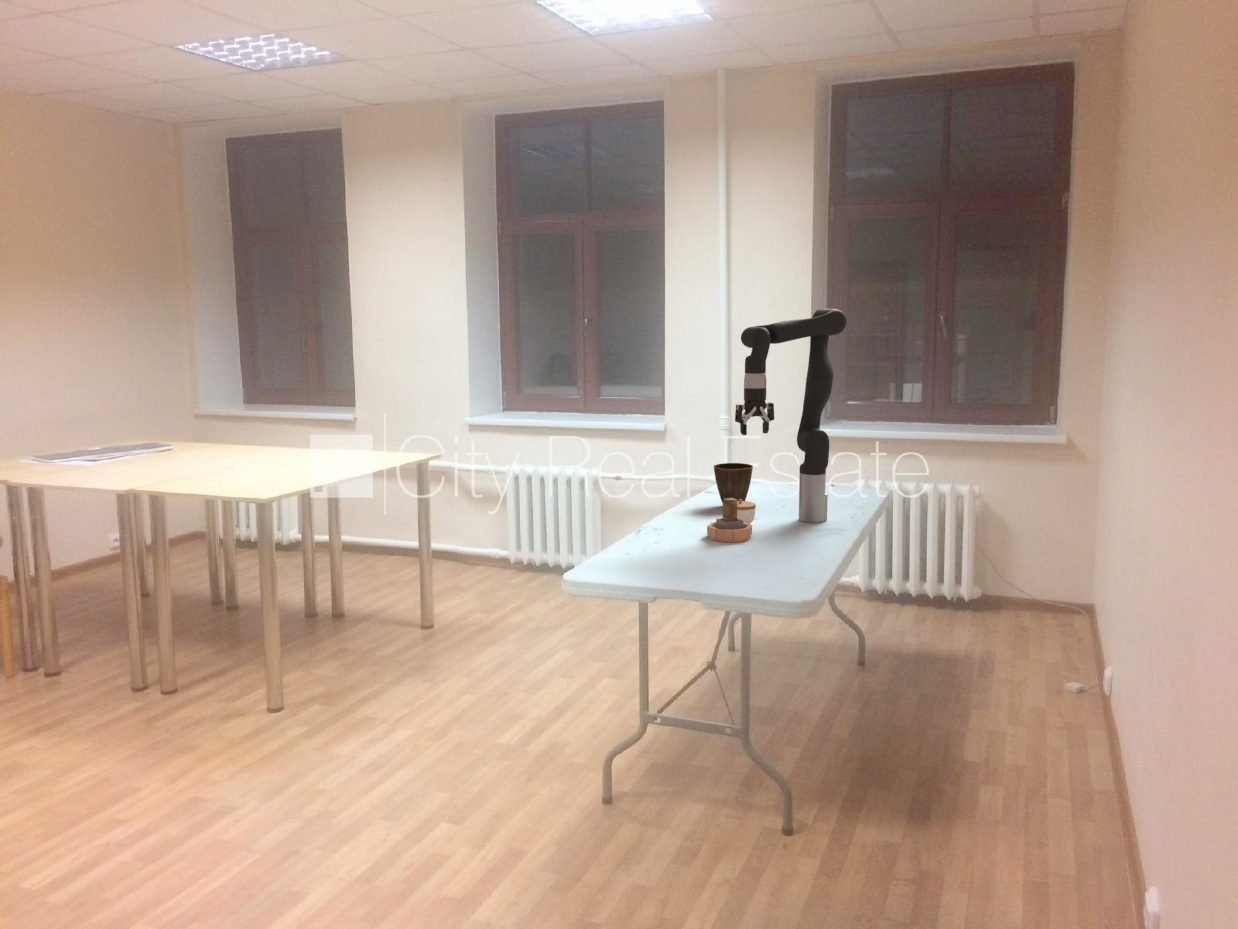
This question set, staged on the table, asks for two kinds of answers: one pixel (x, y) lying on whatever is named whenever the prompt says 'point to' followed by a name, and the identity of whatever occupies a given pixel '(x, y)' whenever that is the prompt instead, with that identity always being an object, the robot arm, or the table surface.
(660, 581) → the table surface
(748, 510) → the lidded jar
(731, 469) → the plant pot
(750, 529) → the candle pot
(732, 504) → the brown long rectangular block
